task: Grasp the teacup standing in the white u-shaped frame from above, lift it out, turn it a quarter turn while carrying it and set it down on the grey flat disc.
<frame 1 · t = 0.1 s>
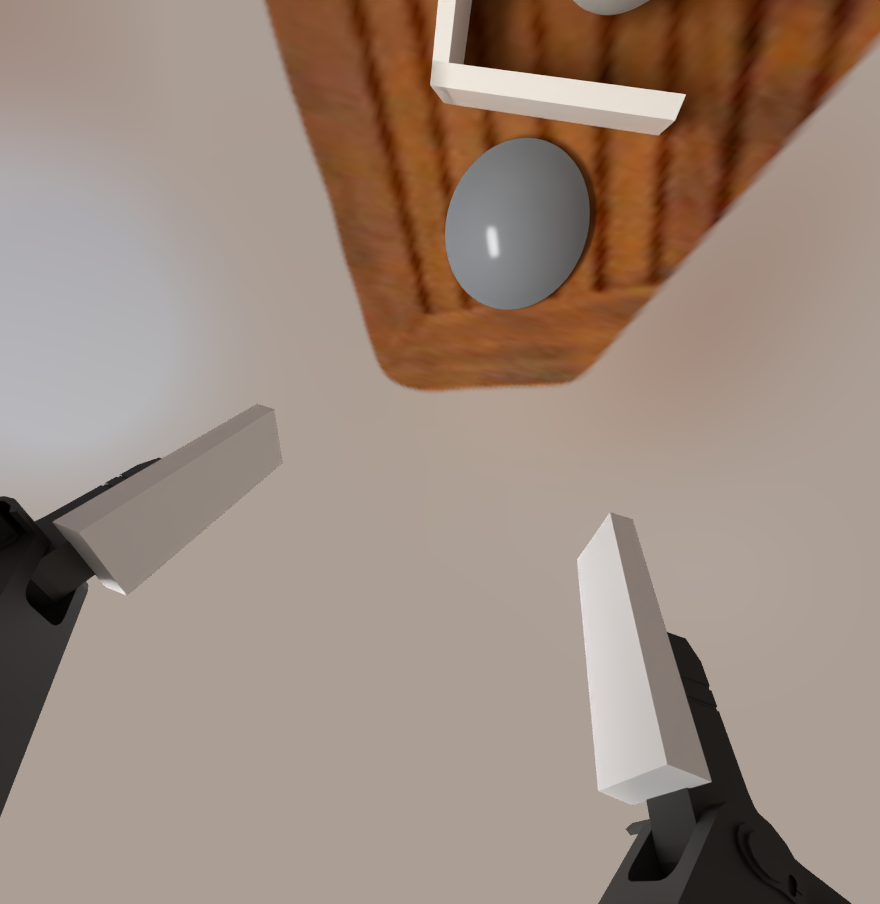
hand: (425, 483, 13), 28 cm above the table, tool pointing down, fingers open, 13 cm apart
grey flat disc: (513, 234, 30), on the table
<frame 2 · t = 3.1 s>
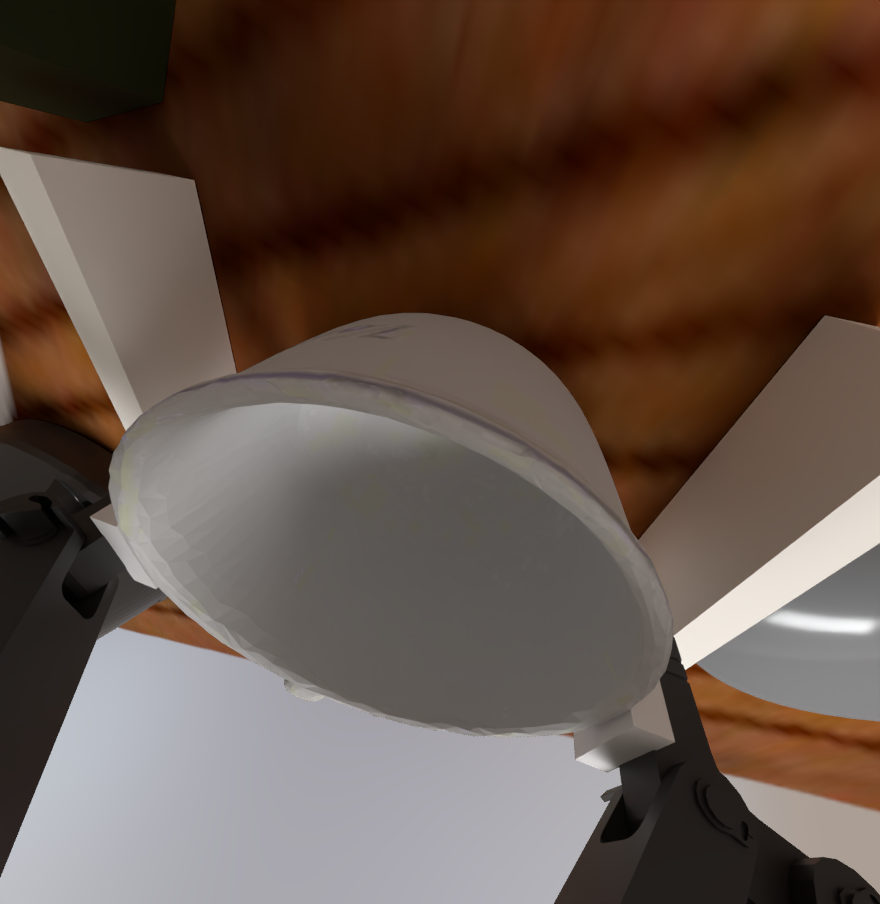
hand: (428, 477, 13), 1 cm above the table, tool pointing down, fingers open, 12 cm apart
white u-shaped frame: (430, 462, 14), on the table
grey flat disc: (879, 620, 12), on the table
teacup: (429, 458, 14), on the table, touching gripper
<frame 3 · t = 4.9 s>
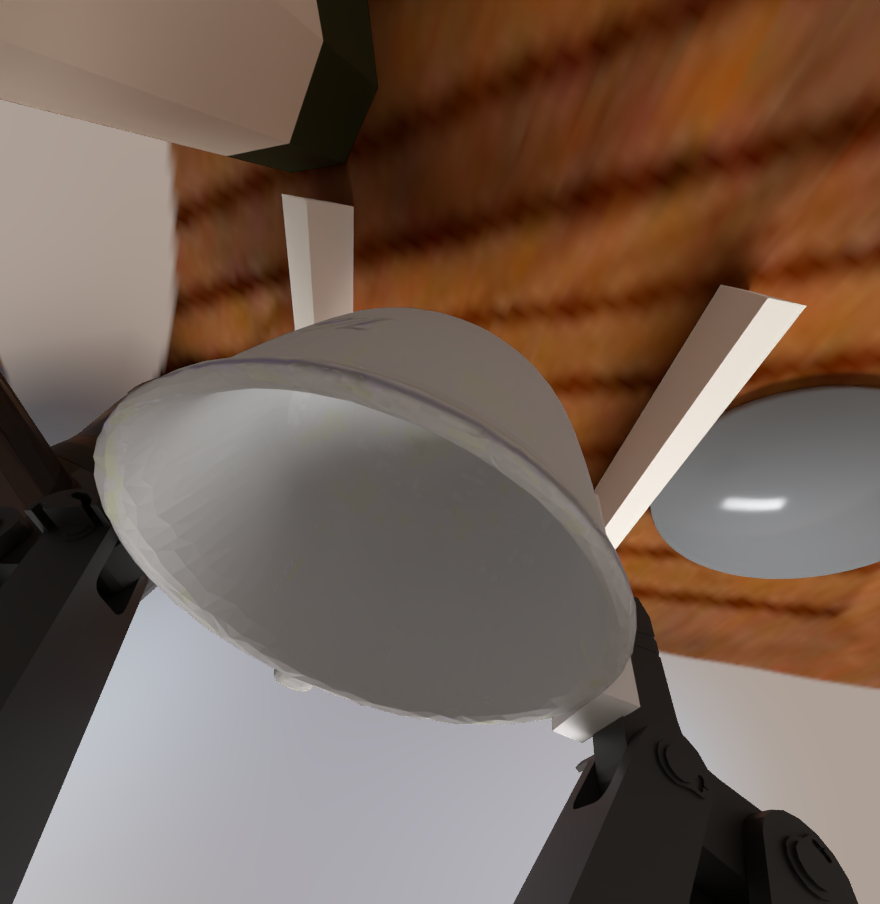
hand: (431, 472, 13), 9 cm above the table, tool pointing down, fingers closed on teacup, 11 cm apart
white u-shaped frame: (482, 391, 20), on the table
grey flat disc: (782, 494, 18), on the table
wine bottle: (296, 56, 14), on the table
teacup: (420, 453, 14), point 8 cm above the table, touching gripper
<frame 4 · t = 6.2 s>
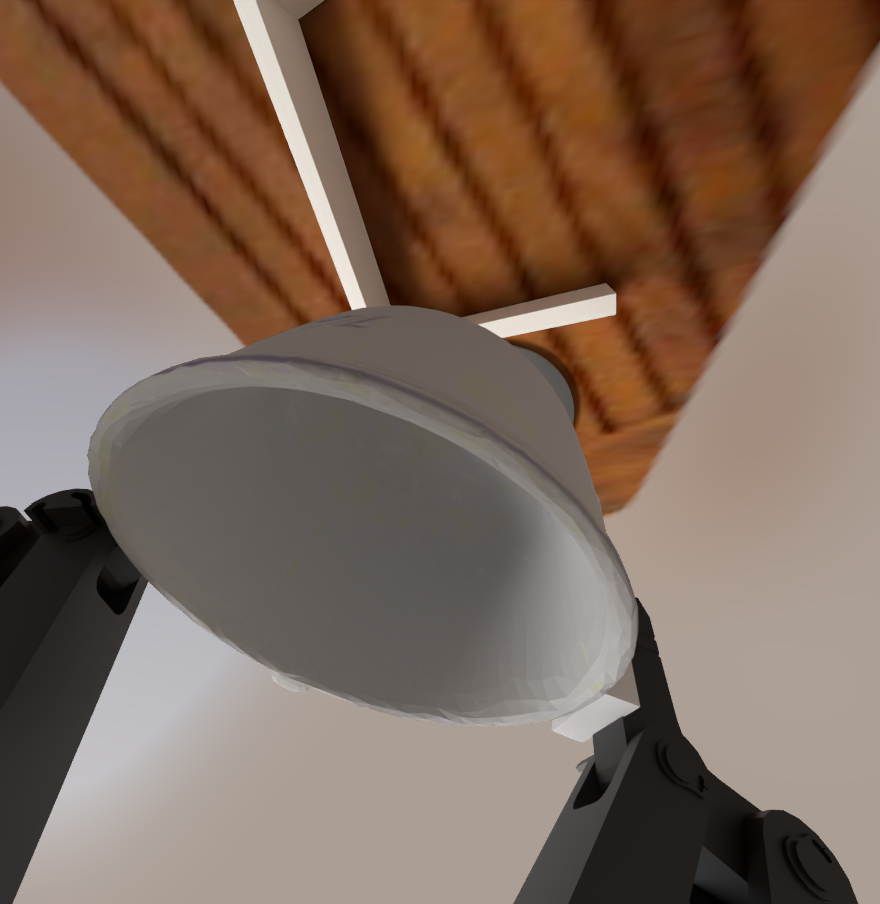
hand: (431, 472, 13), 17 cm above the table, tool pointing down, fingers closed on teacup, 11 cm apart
white u-shaped frame: (464, 161, 20), on the table
grey flat disc: (497, 414, 30), on the table
teacup: (419, 453, 14), point 16 cm above the table, touching gripper
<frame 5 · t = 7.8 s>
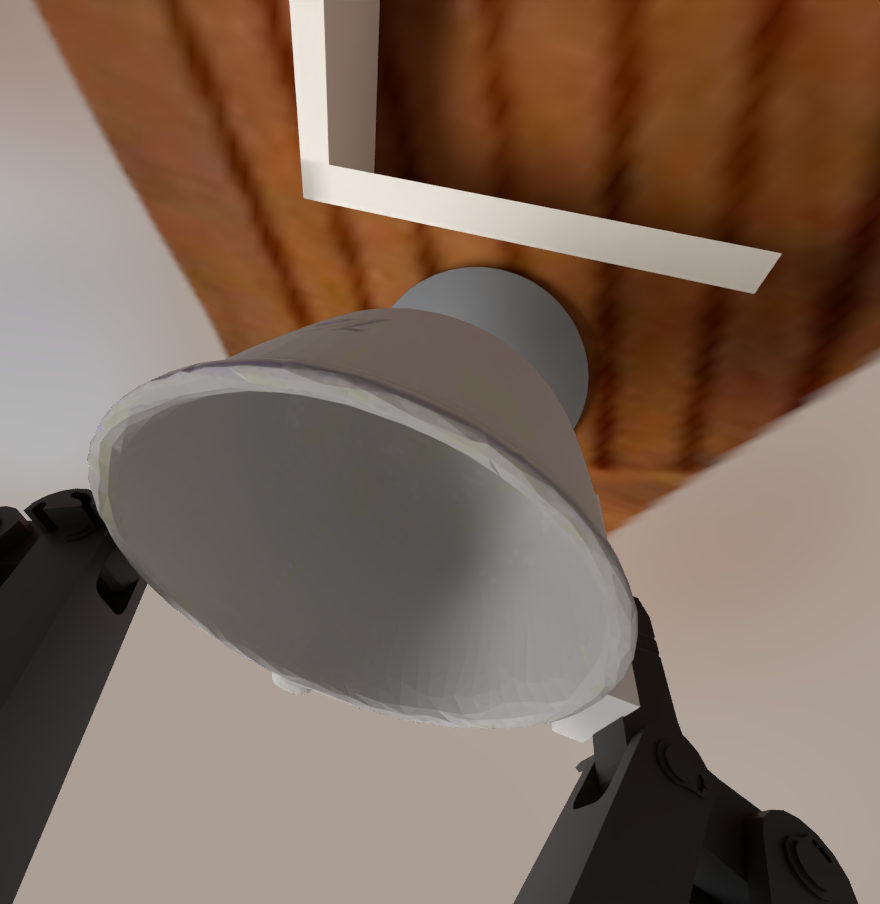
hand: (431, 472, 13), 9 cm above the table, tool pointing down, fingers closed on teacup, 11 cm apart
grey flat disc: (472, 387, 20), on the table
teacup: (419, 455, 14), point 8 cm above the table, touching gripper
when the fingers open (3 cm above the table, at t = 9.3 s): teacup drops 1 cm, resting on grey flat disc.
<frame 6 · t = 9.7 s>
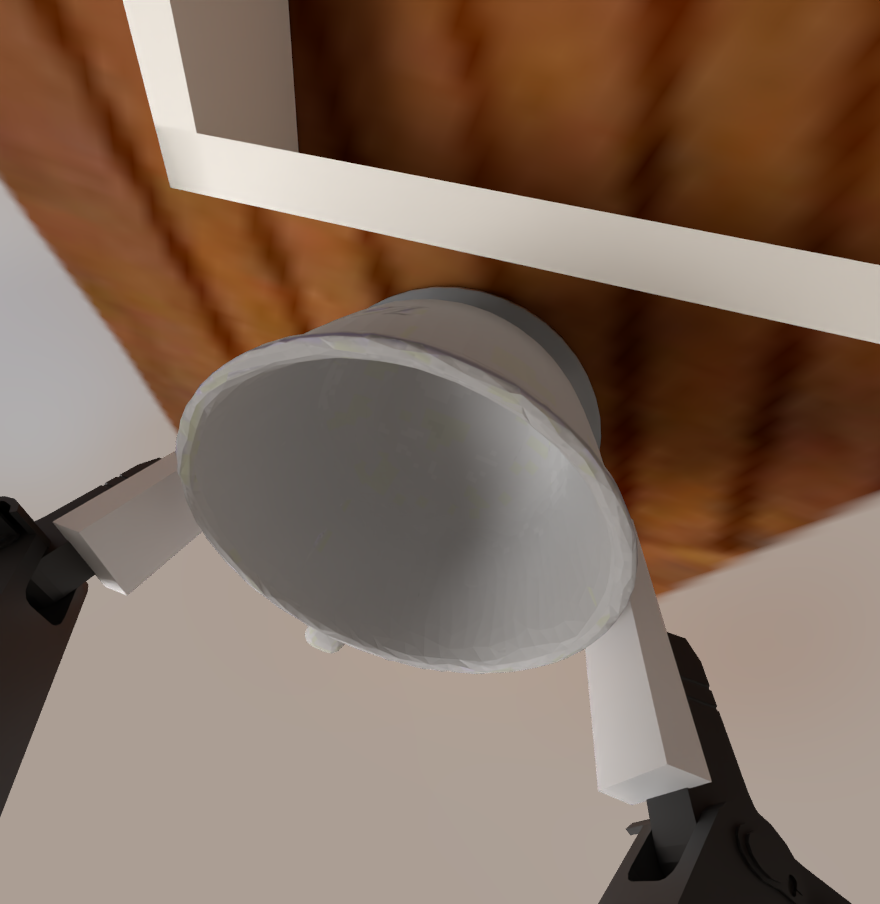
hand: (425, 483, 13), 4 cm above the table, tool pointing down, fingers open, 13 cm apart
grey flat disc: (448, 438, 15), on the table
teacup: (436, 439, 15), resting on grey flat disc
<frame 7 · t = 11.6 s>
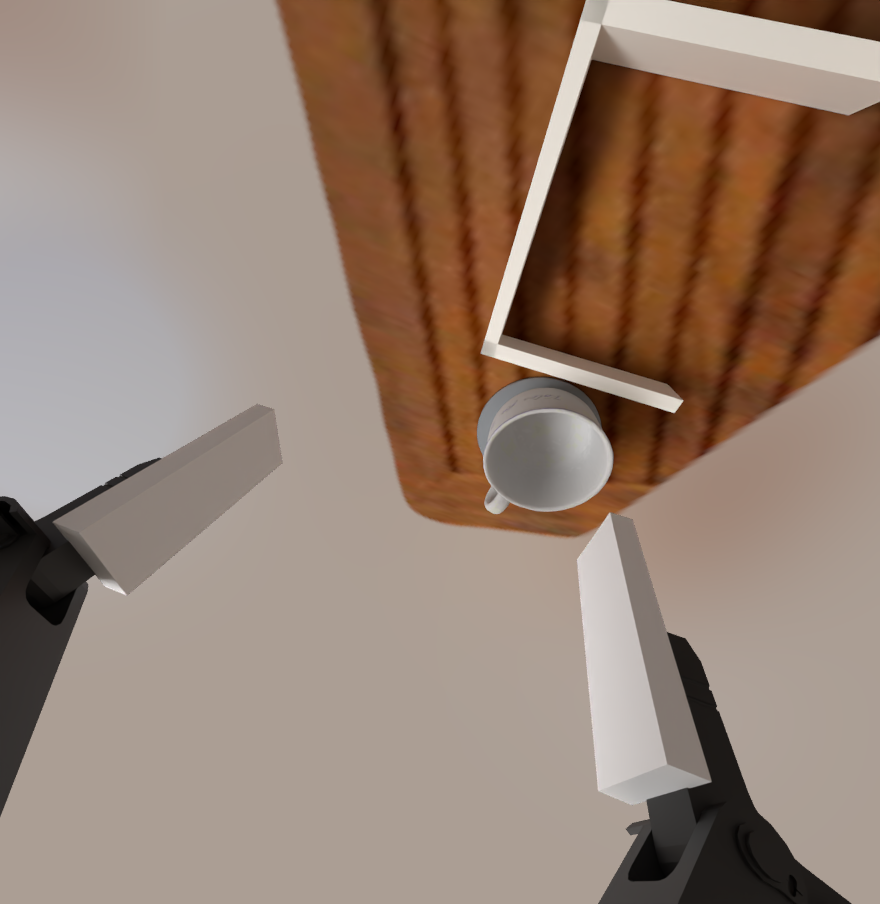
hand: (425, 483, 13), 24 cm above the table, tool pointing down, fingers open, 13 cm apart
white u-shaped frame: (636, 249, 26), on the table
grey flat disc: (536, 433, 36), on the table
teacup: (531, 433, 35), resting on grey flat disc
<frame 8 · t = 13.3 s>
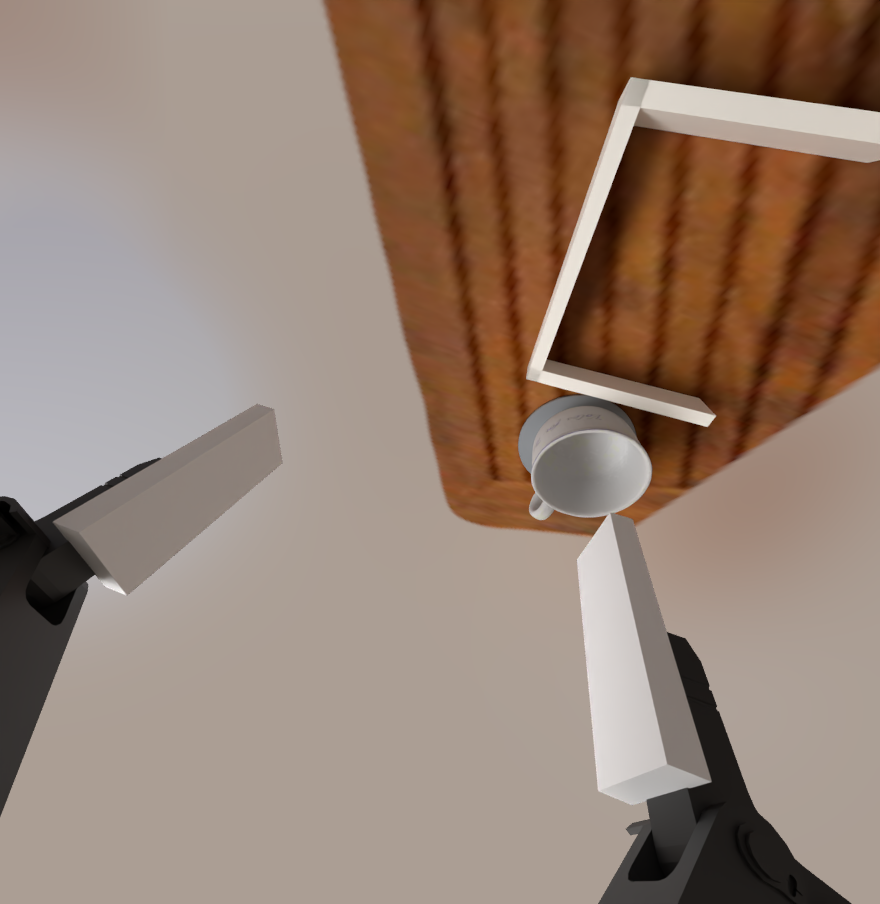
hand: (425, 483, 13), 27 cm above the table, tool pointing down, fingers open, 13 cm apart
white u-shaped frame: (669, 282, 28), on the table
grey flat disc: (573, 444, 39), on the table
teacup: (570, 444, 39), resting on grey flat disc
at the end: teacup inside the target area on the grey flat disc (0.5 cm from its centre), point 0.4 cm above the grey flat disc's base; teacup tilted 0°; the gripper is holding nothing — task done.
